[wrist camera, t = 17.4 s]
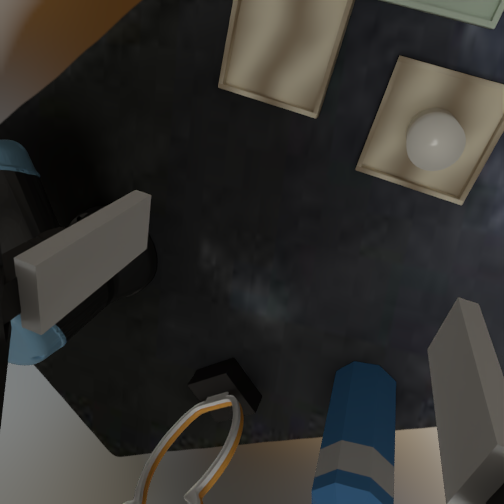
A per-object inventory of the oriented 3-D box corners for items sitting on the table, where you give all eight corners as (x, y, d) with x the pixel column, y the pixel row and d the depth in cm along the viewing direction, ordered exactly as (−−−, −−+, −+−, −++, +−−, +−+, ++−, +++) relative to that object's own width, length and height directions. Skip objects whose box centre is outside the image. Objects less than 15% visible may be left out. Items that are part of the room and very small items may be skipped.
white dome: (398, 147, 44) (397, 161, 39) (418, 101, 41) (420, 109, 36) (443, 162, 43) (449, 178, 38) (467, 115, 40) (476, 126, 35)
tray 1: (223, 86, 47) (217, 87, 46) (245, -35, 41) (240, -37, 40) (318, 116, 45) (316, 118, 44) (356, -6, 39) (355, -8, 38)
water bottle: (349, 350, 59) (319, 522, 38) (409, 380, 57) (413, 574, 36) (324, 389, 63) (285, 561, 42) (379, 417, 62) (367, 607, 41)
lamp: (208, 410, 75) (101, 611, 48) (181, 375, 73) (54, 564, 46) (281, 391, 67) (199, 621, 40) (252, 351, 65) (147, 565, 38)
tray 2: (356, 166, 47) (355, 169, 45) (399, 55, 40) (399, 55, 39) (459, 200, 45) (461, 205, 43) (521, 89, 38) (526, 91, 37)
